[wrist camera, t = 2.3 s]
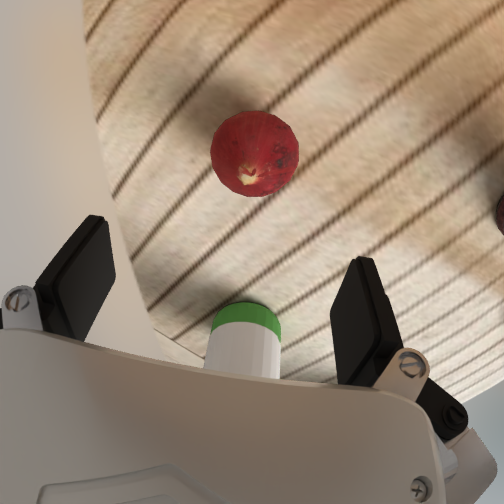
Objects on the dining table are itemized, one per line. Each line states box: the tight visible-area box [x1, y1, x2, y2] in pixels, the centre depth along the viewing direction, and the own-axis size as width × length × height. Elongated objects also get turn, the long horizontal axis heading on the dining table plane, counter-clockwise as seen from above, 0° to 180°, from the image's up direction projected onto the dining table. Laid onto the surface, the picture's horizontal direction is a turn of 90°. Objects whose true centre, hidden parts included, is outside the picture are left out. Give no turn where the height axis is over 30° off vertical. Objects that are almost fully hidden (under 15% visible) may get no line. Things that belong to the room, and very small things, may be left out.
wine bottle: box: [203, 302, 281, 379], centre depth 24 cm, size 8×8×30 cm
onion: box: [210, 111, 299, 197], centre depth 20 cm, size 6×6×8 cm
